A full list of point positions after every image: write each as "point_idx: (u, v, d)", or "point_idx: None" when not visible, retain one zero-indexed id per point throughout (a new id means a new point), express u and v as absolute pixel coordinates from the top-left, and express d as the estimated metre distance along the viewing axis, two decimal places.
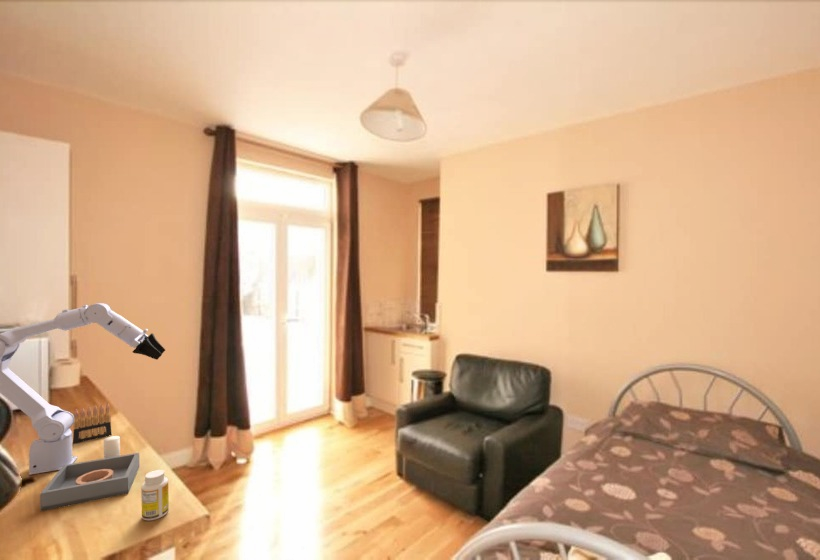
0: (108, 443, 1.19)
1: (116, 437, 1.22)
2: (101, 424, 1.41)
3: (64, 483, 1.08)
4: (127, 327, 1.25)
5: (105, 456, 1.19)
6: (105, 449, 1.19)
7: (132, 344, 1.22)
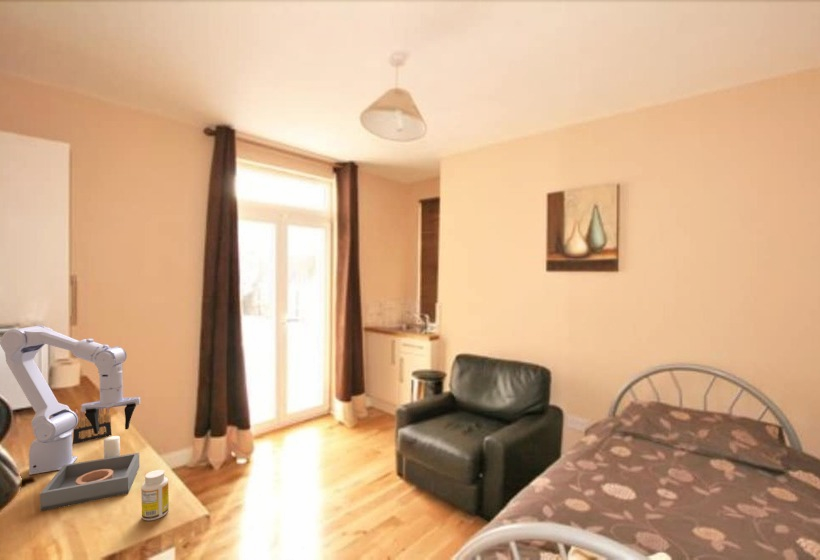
0: (109, 443, 1.19)
1: (116, 437, 1.22)
2: (101, 424, 1.41)
3: (64, 483, 1.08)
4: (100, 390, 1.19)
5: (105, 456, 1.19)
6: (105, 449, 1.19)
7: None
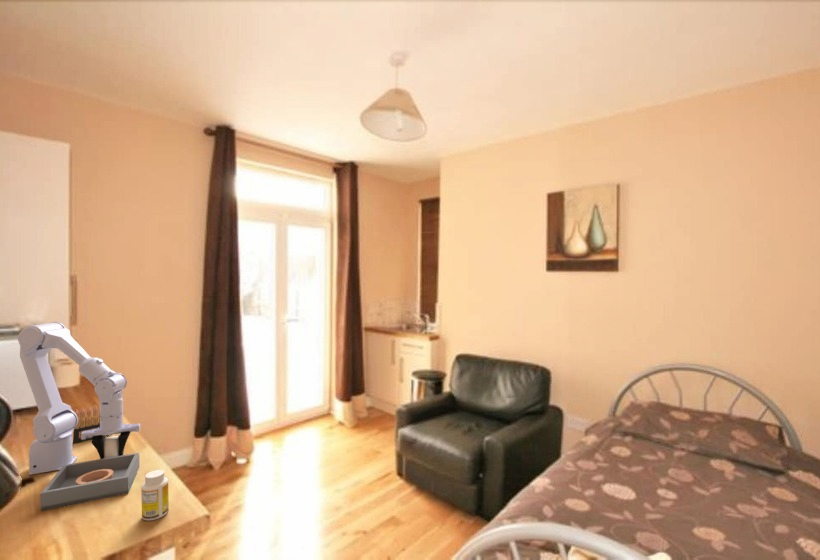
0: (108, 443, 1.19)
1: (116, 437, 1.22)
2: None
3: (64, 483, 1.08)
4: (100, 417, 1.19)
5: (105, 456, 1.19)
6: (105, 449, 1.19)
7: None
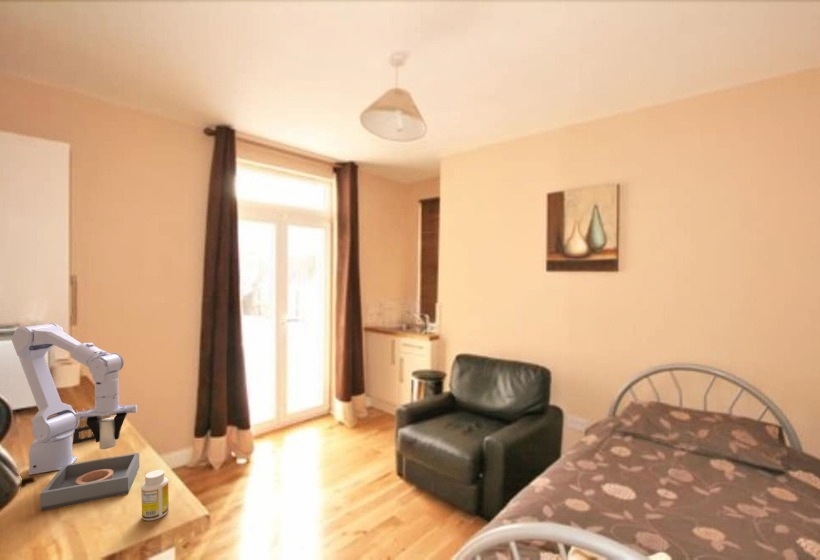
0: (104, 424, 1.16)
1: (112, 419, 1.18)
2: None
3: (64, 483, 1.08)
4: (96, 398, 1.15)
5: (101, 438, 1.16)
6: (101, 430, 1.16)
7: None
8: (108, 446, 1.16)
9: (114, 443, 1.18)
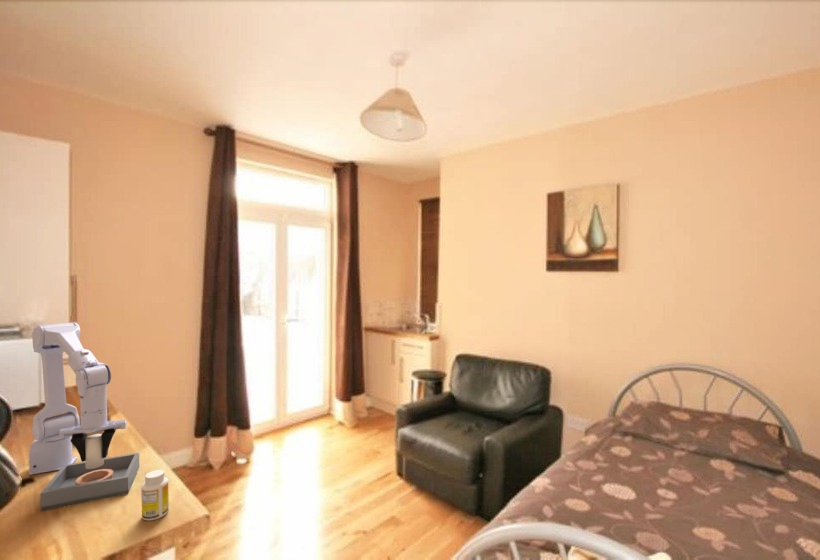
0: (90, 442, 1.06)
1: (99, 435, 1.09)
2: None
3: (64, 483, 1.08)
4: (81, 413, 1.05)
5: (87, 456, 1.06)
6: (87, 448, 1.06)
7: None
8: (95, 466, 1.07)
9: (101, 462, 1.08)
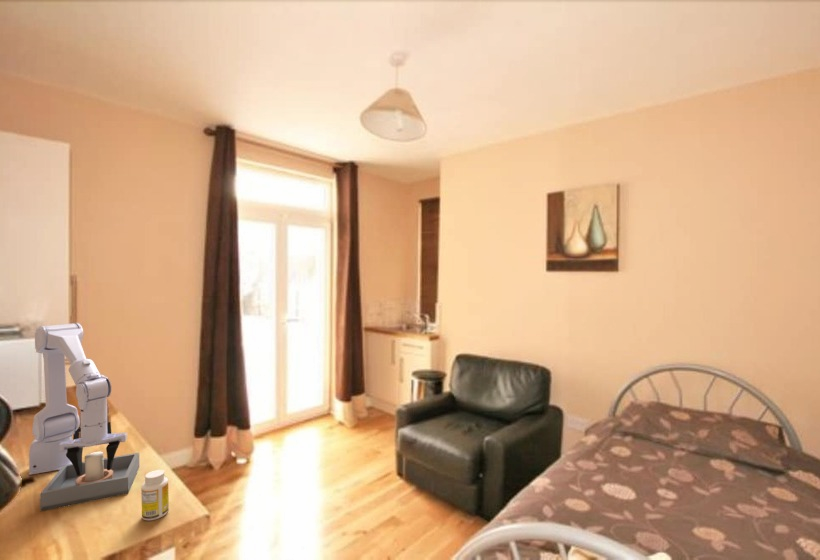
0: (90, 460, 1.06)
1: (99, 453, 1.09)
2: None
3: (64, 483, 1.08)
4: (81, 426, 1.06)
5: (86, 475, 1.06)
6: (86, 467, 1.06)
7: None
8: None
9: None
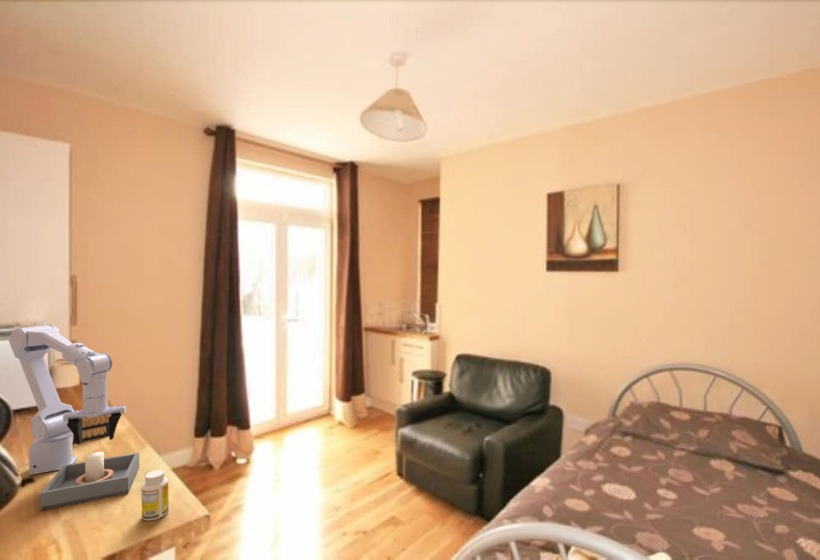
0: (91, 460, 1.06)
1: (99, 453, 1.09)
2: (101, 424, 1.41)
3: (64, 483, 1.08)
4: (83, 398, 1.14)
5: (87, 475, 1.06)
6: (87, 467, 1.06)
7: None
8: None
9: None
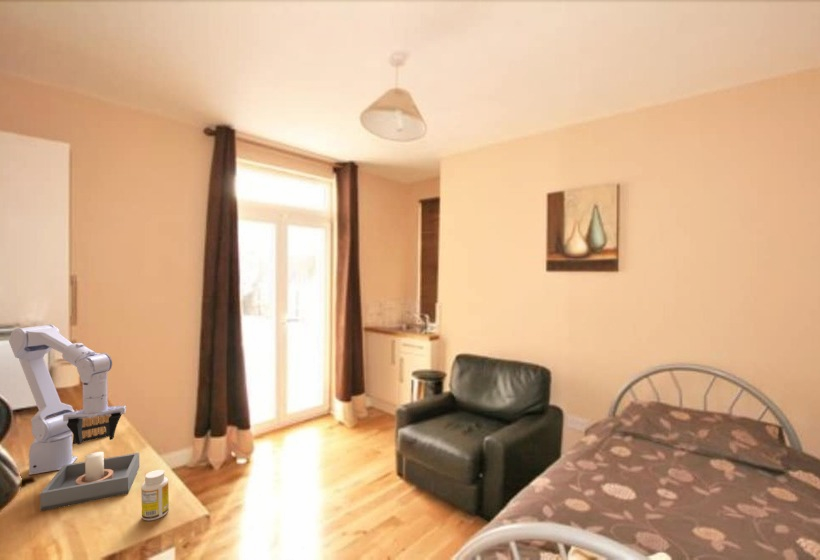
0: (91, 460, 1.06)
1: (99, 453, 1.09)
2: (101, 424, 1.41)
3: (64, 483, 1.08)
4: (83, 398, 1.14)
5: (87, 475, 1.06)
6: (87, 467, 1.06)
7: None
8: None
9: None
